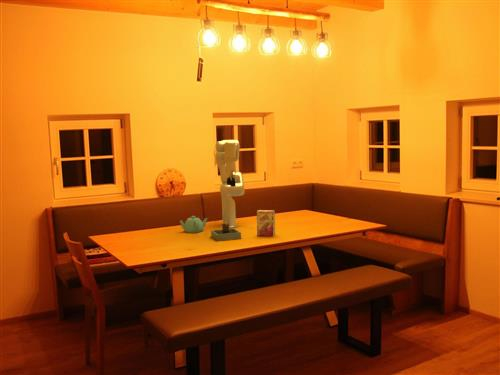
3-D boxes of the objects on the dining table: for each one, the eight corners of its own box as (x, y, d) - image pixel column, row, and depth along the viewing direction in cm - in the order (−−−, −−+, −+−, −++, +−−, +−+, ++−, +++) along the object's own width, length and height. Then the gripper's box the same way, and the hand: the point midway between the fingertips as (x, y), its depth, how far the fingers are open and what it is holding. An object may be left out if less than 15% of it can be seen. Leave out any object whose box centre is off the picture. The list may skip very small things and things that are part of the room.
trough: (211, 236, 341) (211, 230, 341) (234, 234, 346) (234, 228, 345) (216, 241, 326) (216, 234, 326) (241, 238, 331) (240, 232, 330)
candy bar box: (257, 235, 338) (256, 211, 336) (259, 234, 343) (258, 209, 341) (273, 236, 334) (272, 211, 333) (275, 234, 339) (274, 210, 337)
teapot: (178, 233, 358) (177, 217, 357) (189, 228, 372) (188, 214, 371) (198, 233, 352) (197, 218, 351) (208, 229, 366) (207, 214, 365)
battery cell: (221, 235, 337) (221, 222, 336) (228, 235, 339) (227, 221, 338) (223, 237, 333) (222, 223, 332) (230, 236, 334) (229, 222, 333)
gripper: (221, 160, 352) (222, 185, 353) (228, 161, 335) (229, 187, 337) (232, 159, 354) (233, 184, 355) (239, 160, 337) (240, 186, 339)
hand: (231, 185), depth 346 cm, fingers open, 9 cm apart
